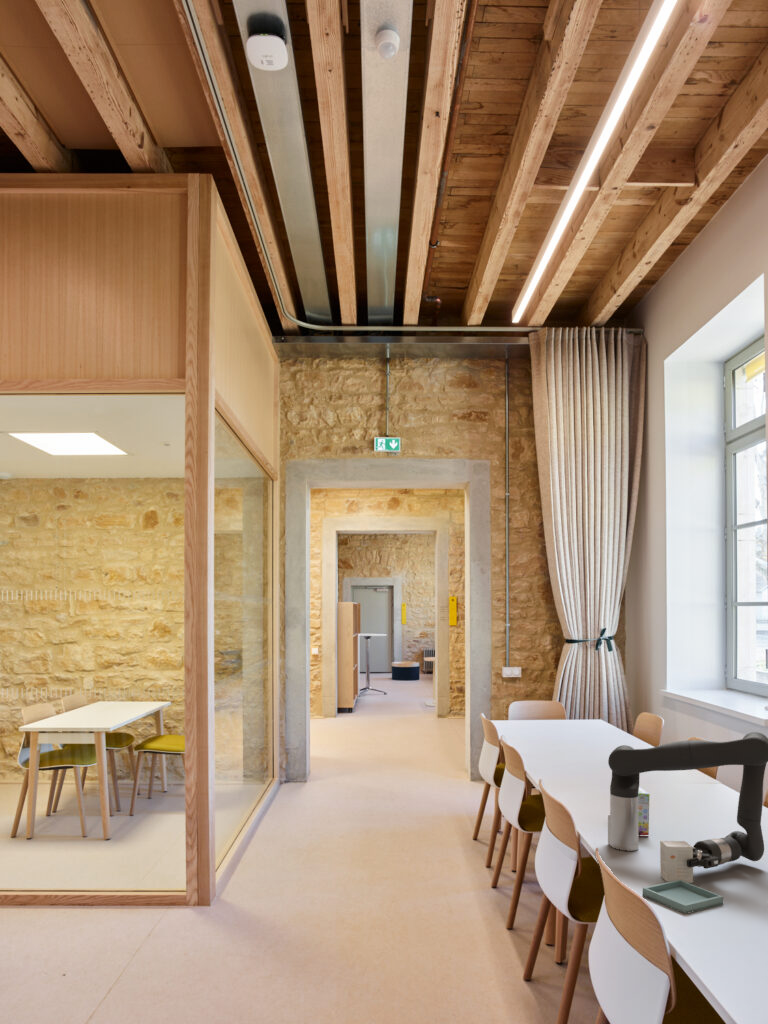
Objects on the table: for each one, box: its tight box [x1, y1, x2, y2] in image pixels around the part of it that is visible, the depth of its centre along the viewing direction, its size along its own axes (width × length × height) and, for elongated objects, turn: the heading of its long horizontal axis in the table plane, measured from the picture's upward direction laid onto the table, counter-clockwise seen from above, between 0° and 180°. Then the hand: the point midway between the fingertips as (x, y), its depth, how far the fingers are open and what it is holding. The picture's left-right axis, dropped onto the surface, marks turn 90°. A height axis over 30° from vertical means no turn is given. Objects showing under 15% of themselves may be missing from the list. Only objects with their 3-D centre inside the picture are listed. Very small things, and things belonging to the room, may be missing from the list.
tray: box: [642, 880, 724, 914], centre depth 225 cm, size 15×16×2 cm
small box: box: [659, 840, 694, 884], centre depth 241 cm, size 8×6×10 cm
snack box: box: [638, 786, 650, 835], centre depth 296 cm, size 21×6×15 cm, turn 179°
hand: (676, 859), depth 241 cm, fingers closed on small box, 7 cm apart
